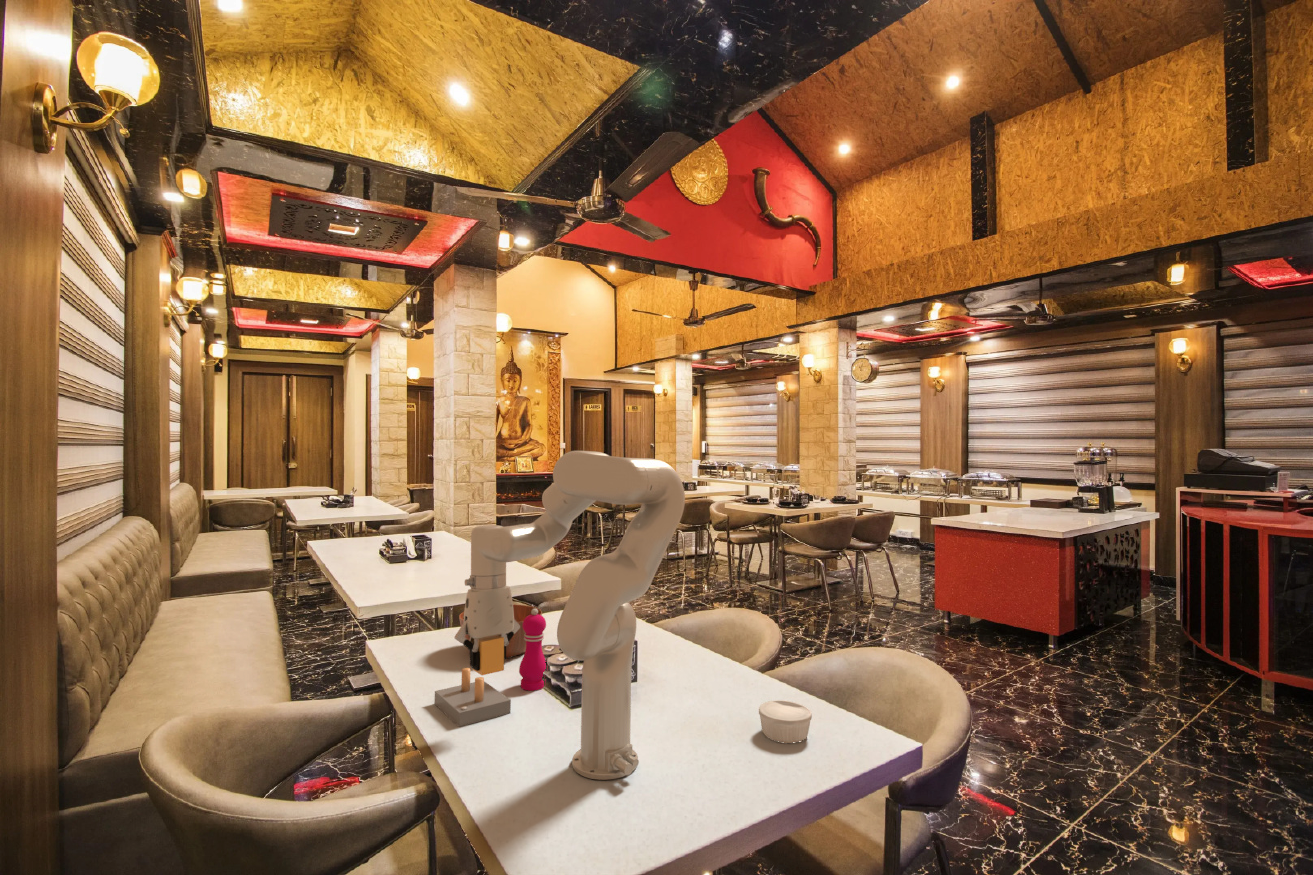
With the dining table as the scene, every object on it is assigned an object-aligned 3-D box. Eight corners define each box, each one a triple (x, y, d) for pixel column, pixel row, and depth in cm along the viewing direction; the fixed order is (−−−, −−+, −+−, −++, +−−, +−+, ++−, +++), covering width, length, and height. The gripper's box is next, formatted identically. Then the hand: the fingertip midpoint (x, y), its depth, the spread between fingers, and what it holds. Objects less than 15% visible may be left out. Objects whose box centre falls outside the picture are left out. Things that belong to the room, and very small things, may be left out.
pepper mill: (550, 682, 157) (552, 605, 158) (542, 692, 150) (544, 612, 151) (523, 680, 158) (525, 604, 159) (514, 690, 151) (516, 611, 152)
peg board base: (510, 713, 137) (511, 677, 138) (459, 726, 130) (460, 689, 130) (482, 692, 150) (483, 660, 150) (434, 703, 142) (435, 669, 143)
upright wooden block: (503, 670, 129) (503, 637, 130) (481, 675, 126) (481, 641, 126) (494, 664, 133) (494, 633, 134) (472, 669, 130) (472, 637, 130)
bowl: (518, 635, 201) (519, 601, 202) (556, 653, 182) (557, 615, 182) (445, 648, 185) (446, 611, 186) (477, 670, 166) (479, 628, 167)
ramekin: (812, 727, 132) (812, 703, 132) (811, 750, 121) (811, 723, 122) (761, 720, 135) (761, 697, 135) (756, 742, 124) (756, 716, 125)
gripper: (456, 589, 123) (456, 679, 121) (531, 579, 133) (531, 662, 132) (443, 584, 128) (443, 670, 127) (516, 575, 139) (516, 654, 138)
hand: (488, 665), depth 130 cm, fingers closed on upright wooden block, 4 cm apart
